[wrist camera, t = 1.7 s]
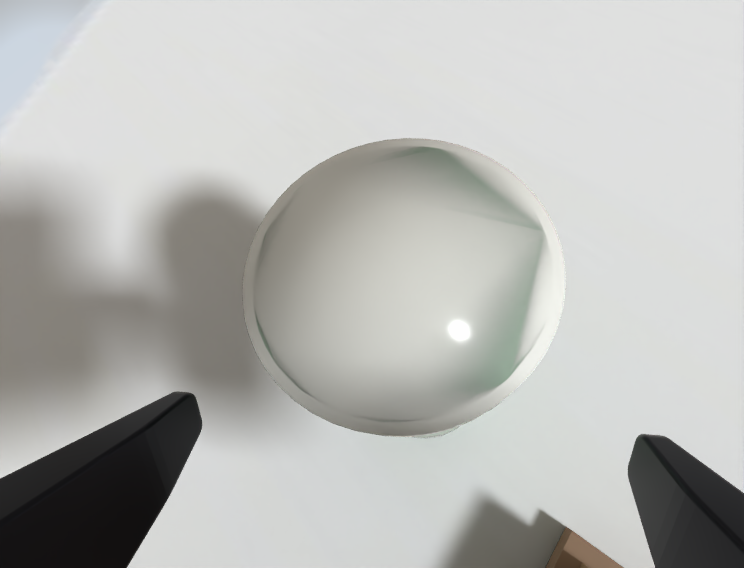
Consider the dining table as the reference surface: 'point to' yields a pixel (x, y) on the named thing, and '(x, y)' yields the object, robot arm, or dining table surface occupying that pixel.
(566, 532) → the pedestal
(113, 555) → the robot arm
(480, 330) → the tumbler
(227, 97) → the dining table surface
